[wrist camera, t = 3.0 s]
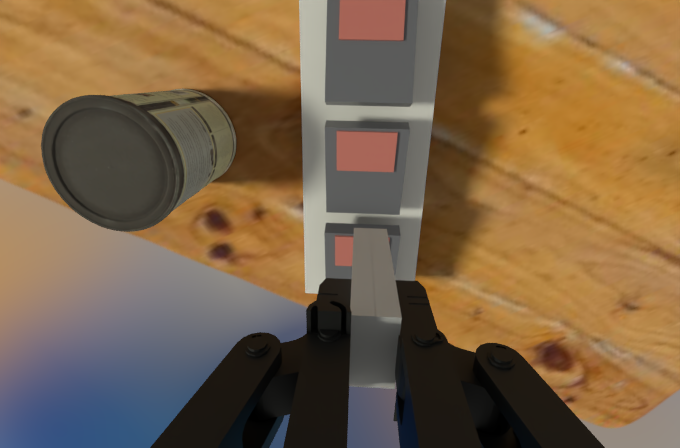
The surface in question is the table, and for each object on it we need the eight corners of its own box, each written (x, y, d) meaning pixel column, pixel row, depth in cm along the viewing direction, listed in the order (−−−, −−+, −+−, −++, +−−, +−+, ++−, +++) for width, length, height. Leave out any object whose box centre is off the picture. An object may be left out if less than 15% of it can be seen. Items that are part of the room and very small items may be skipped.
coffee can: (181, 197, 43) (101, 251, 30) (126, 115, 39) (10, 135, 26) (255, 160, 40) (205, 200, 27) (204, 70, 37) (119, 67, 24)
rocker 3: (325, 222, 35) (324, 234, 33) (399, 225, 35) (400, 237, 33) (327, 285, 40) (325, 297, 38) (391, 288, 40) (392, 300, 38)
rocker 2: (326, 120, 31) (324, 128, 30) (408, 122, 31) (410, 130, 29) (327, 203, 36) (326, 213, 35) (398, 205, 36) (399, 216, 34)
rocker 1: (329, -4, 29) (327, -15, 28) (415, -3, 29) (419, -14, 27) (326, 104, 31) (324, 100, 29) (409, 106, 30) (412, 102, 29)
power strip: (306, -76, 32) (294, -109, 26) (445, -76, 32) (464, -110, 26) (311, 270, 45) (303, 299, 40) (409, 275, 45) (416, 305, 39)
